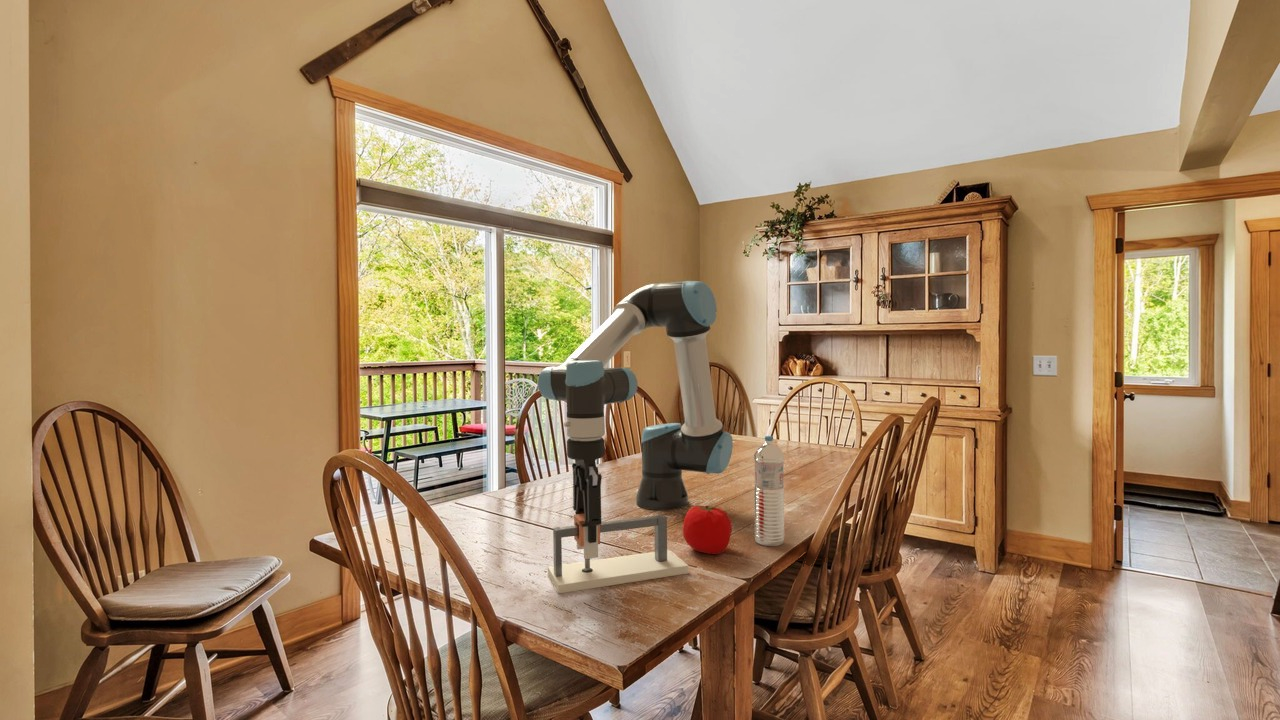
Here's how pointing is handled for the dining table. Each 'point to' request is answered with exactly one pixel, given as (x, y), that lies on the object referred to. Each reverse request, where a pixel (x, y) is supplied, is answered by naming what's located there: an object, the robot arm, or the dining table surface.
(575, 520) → the slider sleeve
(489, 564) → the dining table surface
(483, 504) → the dining table surface
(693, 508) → the tomato
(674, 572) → the hole board
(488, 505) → the dining table surface
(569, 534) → the grey slider rail frame
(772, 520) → the water bottle
